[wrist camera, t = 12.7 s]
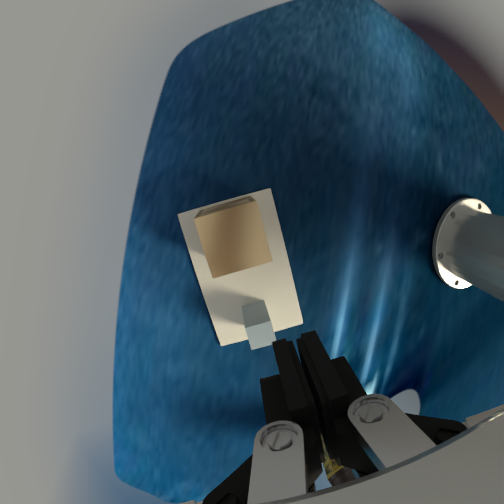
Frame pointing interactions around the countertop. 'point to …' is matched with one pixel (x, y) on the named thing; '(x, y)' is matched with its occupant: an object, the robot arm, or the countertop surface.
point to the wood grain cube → (233, 236)
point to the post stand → (247, 284)
